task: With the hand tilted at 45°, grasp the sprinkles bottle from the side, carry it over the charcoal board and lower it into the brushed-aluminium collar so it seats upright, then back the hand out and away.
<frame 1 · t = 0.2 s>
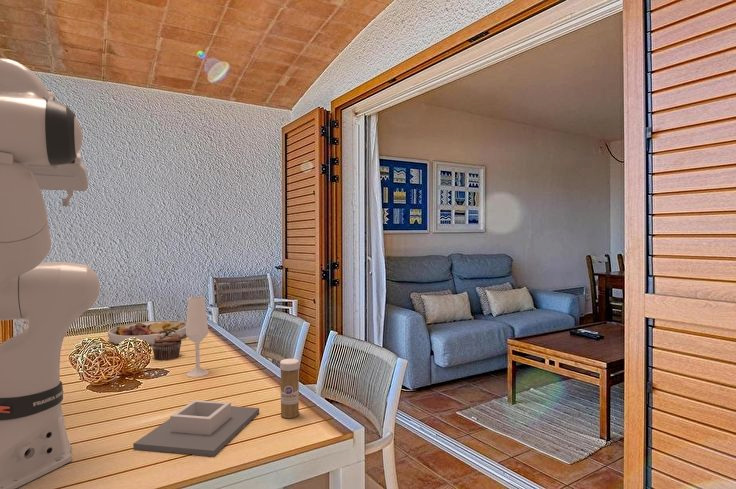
hand: (44, 205, 121), 52 cm above the table, tool tilted 20°, fingers open, 8 cm apart
cupcake: (166, 357, 162), on the table
socket board: (201, 429, 103), on the table
champagne flute: (197, 373, 144), on the table
sprinkles bottle: (290, 415, 111), on the table
bowl: (149, 339, 190), on the table
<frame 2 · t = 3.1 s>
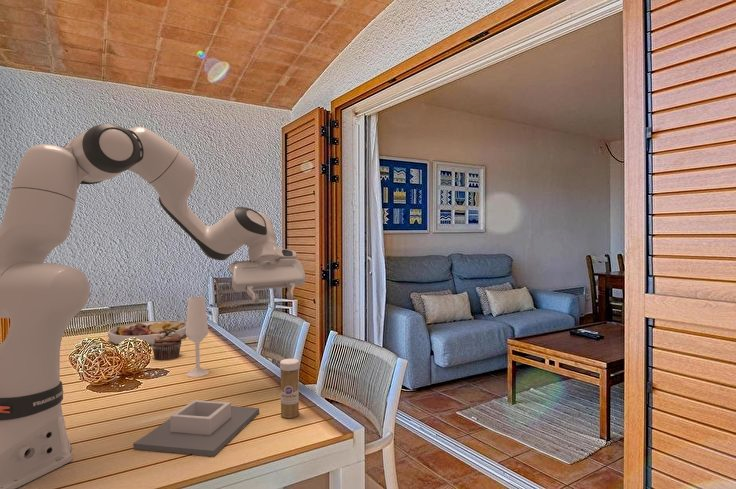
hand: (273, 299, 124), 26 cm above the table, tool tilted 40°, fingers open, 8 cm apart
nothing on the table moved.
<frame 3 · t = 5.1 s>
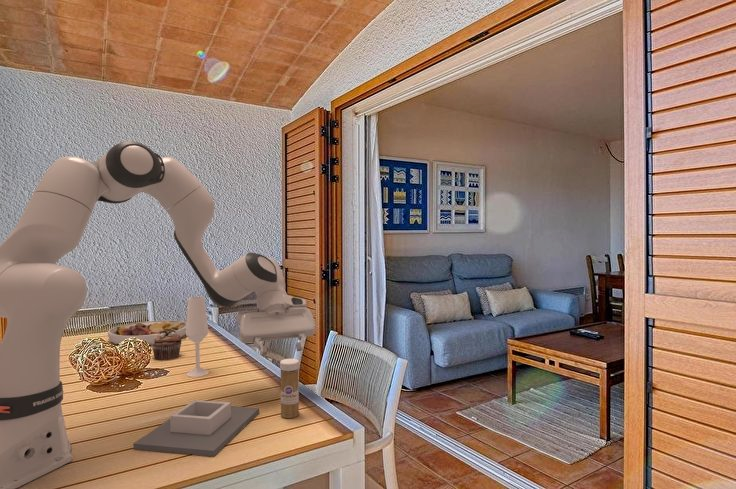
hand: (282, 351, 118), 14 cm above the table, tool tilted 45°, fingers open, 8 cm apart
nothing on the table moved.
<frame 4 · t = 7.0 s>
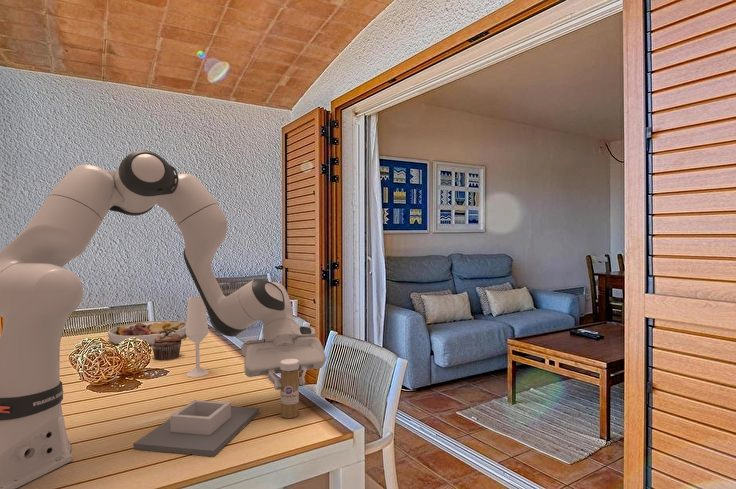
hand: (290, 386, 110), 7 cm above the table, tool tilted 45°, fingers closed on sprinkles bottle, 4 cm apart
sprinkles bottle: (290, 415, 111), on the table, touching gripper
everything else where it was.
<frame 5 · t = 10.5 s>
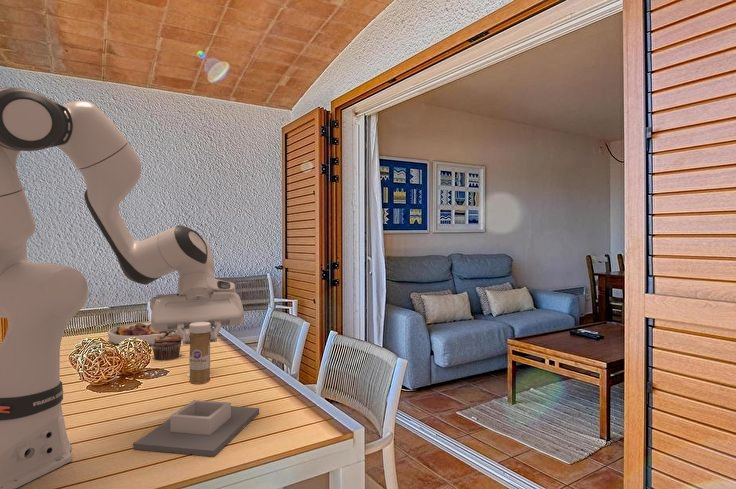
hand: (200, 341, 102), 20 cm above the table, tool tilted 45°, fingers closed on sprinkles bottle, 4 cm apart
sprinkles bottle: (200, 383, 103), point 11 cm above the table, touching gripper
everything else where it was.
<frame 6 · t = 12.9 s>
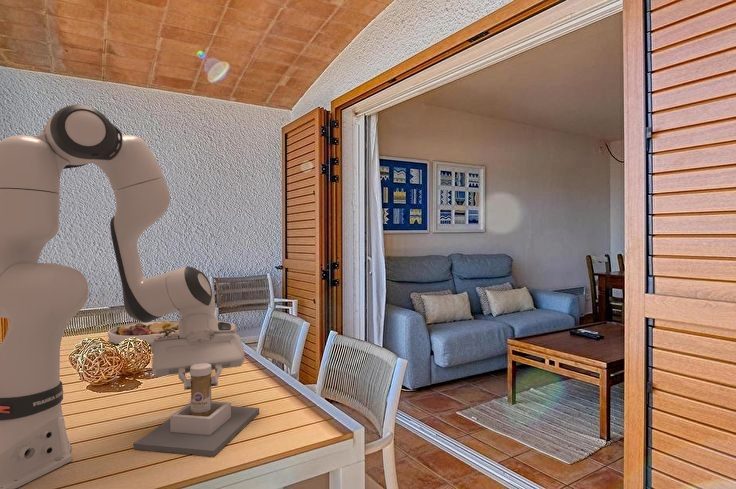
hand: (201, 386, 103), 10 cm above the table, tool tilted 45°, fingers closed on sprinkles bottle, 4 cm apart
sprinkles bottle: (201, 424, 104), point 1 cm above the table, touching gripper, socket board
everything else where it was.
when the fingers open (10 cm above the table, at t = 13.3 s): sprinkles bottle stays where it is, resting on socket board.
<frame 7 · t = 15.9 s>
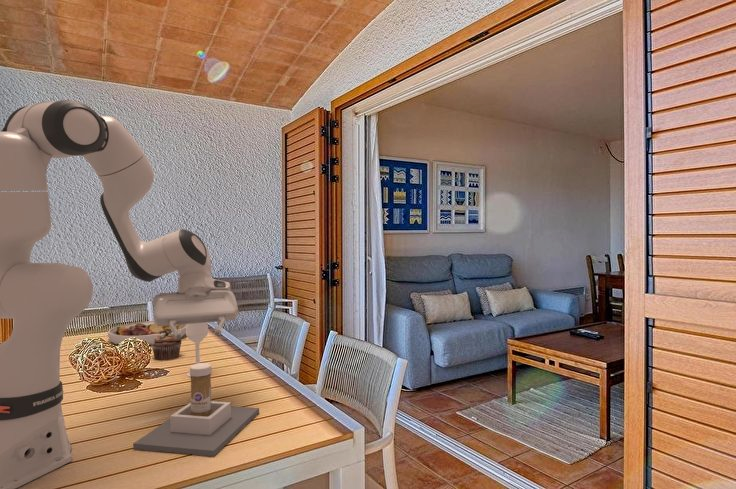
hand: (198, 335, 113), 19 cm above the table, tool tilted 45°, fingers open, 8 cm apart
sprinkles bottle: (201, 424, 104), point 1 cm above the table, touching socket board
everything else where it was.
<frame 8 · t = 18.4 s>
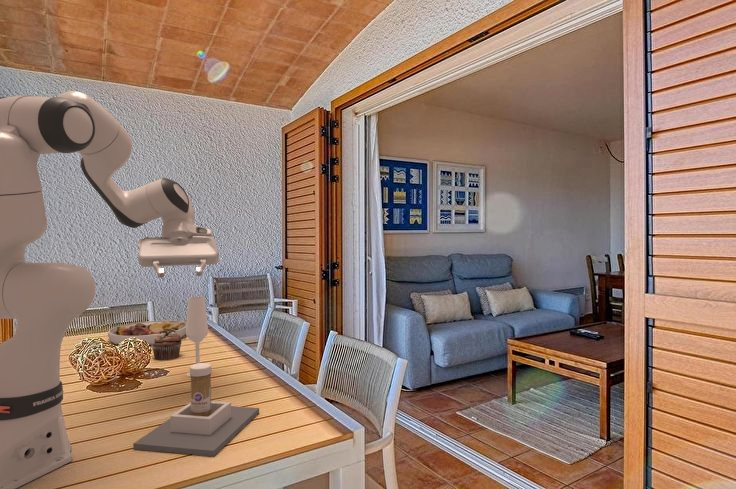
hand: (180, 275, 120), 33 cm above the table, tool tilted 45°, fingers open, 8 cm apart
nothing on the table moved.
at the end: sprinkles bottle 0.3 cm off-centre on the socket board, point 1.0 cm above the socket board's base; sprinkles bottle tilted 0°; the gripper is holding nothing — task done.
